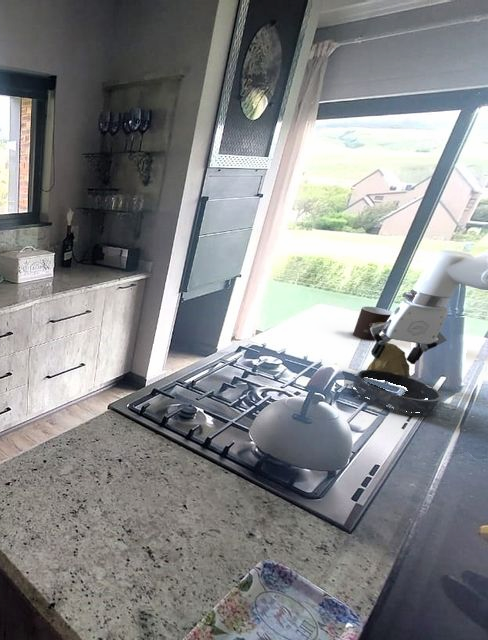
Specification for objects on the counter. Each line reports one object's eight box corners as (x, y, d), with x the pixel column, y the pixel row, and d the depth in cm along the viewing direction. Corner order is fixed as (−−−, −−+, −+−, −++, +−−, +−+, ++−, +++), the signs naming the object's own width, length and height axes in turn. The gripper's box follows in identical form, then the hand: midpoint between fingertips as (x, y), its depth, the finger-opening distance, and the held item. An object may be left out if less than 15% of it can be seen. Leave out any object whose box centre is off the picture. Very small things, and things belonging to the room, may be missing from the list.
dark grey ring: (413, 391, 111) (422, 377, 108) (445, 422, 97) (456, 407, 95) (342, 379, 116) (349, 365, 114) (363, 407, 103) (372, 392, 100)
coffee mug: (348, 336, 145) (361, 310, 140) (349, 330, 150) (362, 304, 146) (390, 346, 138) (406, 319, 133) (390, 339, 144) (405, 312, 139)
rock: (412, 368, 118) (370, 354, 123) (430, 353, 111) (385, 339, 116) (398, 397, 116) (356, 381, 121) (415, 384, 108) (370, 368, 113)
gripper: (393, 298, 106) (360, 358, 115) (479, 309, 101) (437, 371, 109) (381, 290, 112) (350, 348, 121) (461, 300, 107) (424, 360, 115)
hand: (392, 358), depth 115 cm, fingers closed on rock, 7 cm apart
